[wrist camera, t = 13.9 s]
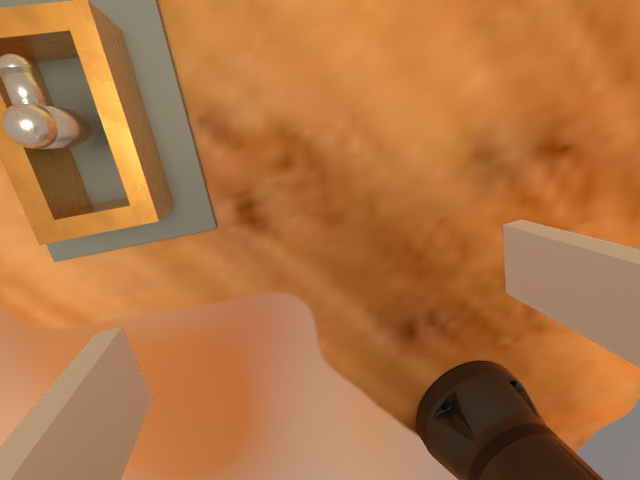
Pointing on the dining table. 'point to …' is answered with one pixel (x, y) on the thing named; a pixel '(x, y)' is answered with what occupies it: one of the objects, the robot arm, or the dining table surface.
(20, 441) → the robot arm
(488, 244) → the dining table surface
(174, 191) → the keeper plate
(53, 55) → the framed display niche
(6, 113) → the hook
